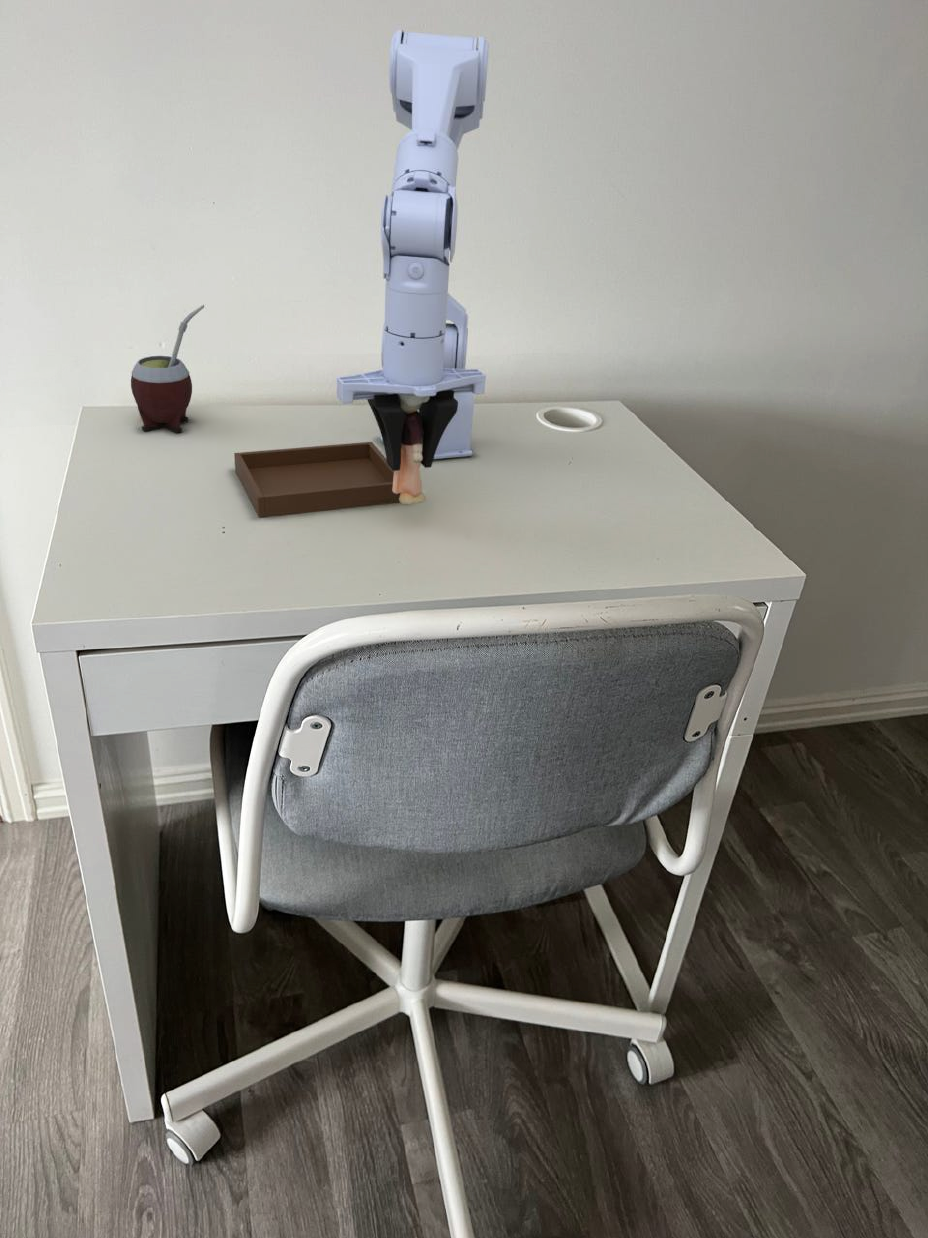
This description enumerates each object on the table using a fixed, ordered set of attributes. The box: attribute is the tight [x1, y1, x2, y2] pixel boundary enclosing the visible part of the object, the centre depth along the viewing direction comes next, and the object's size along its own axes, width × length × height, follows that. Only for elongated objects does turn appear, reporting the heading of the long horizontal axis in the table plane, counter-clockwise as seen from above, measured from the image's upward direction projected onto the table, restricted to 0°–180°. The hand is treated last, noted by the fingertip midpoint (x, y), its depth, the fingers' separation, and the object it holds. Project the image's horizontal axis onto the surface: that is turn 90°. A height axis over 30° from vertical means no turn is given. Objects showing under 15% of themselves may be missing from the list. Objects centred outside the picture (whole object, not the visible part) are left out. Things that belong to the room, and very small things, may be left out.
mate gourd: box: [130, 304, 205, 434], centre depth 117 cm, size 8×8×15 cm
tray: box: [233, 441, 401, 518], centre depth 108 cm, size 16×12×2 cm
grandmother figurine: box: [392, 394, 430, 505], centre depth 96 cm, size 8×4×13 cm, turn 21°
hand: (408, 465), depth 98 cm, fingers closed on grandmother figurine, 3 cm apart
